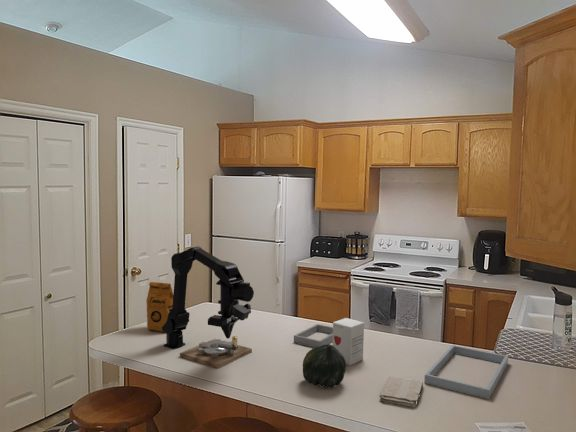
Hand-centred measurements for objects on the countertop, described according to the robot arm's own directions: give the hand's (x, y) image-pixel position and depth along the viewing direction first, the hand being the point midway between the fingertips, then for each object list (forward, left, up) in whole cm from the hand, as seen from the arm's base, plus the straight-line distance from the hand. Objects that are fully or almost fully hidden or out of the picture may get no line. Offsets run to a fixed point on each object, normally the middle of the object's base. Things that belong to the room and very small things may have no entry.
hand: (228, 338), depth 180 cm
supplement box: (+36, +29, -10) cm, 47 cm away
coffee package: (-50, +12, -10) cm, 53 cm away
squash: (+39, +5, -10) cm, 40 cm away
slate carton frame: (+78, +43, -10) cm, 89 cm away
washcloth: (+63, +13, -10) cm, 66 cm away
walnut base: (-9, +4, -10) cm, 14 cm away
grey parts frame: (+15, +43, -10) cm, 47 cm away
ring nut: (-9, +4, -8) cm, 13 cm away
